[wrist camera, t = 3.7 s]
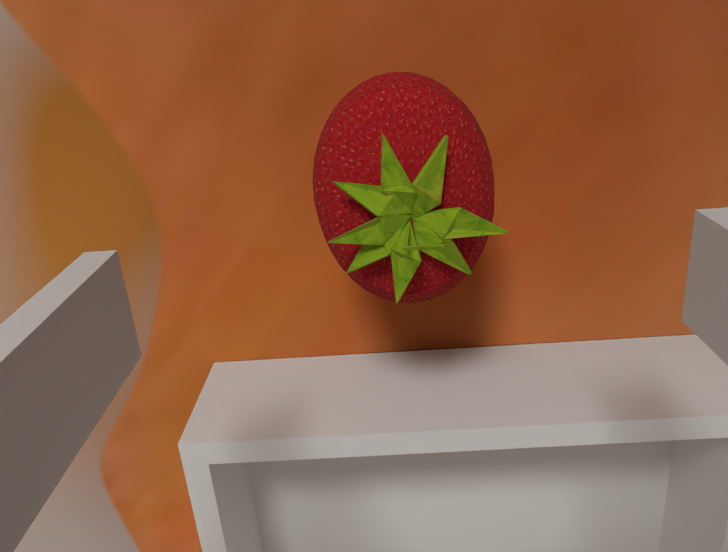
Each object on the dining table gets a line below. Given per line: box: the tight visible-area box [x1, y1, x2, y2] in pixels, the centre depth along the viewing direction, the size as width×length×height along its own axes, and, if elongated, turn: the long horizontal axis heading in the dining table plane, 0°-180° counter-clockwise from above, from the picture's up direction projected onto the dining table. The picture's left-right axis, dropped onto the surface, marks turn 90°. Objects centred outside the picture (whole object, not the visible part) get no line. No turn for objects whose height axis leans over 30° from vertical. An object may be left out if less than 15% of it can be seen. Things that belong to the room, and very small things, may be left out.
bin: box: [178, 335, 728, 552], centre depth 30 cm, size 18×22×6 cm
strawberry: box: [313, 72, 507, 305], centre depth 22 cm, size 6×8×10 cm
